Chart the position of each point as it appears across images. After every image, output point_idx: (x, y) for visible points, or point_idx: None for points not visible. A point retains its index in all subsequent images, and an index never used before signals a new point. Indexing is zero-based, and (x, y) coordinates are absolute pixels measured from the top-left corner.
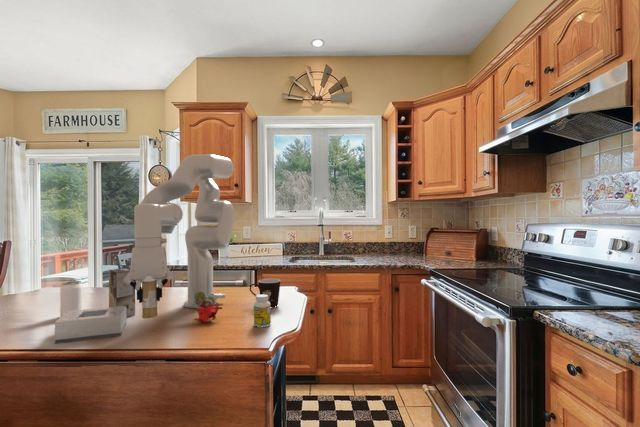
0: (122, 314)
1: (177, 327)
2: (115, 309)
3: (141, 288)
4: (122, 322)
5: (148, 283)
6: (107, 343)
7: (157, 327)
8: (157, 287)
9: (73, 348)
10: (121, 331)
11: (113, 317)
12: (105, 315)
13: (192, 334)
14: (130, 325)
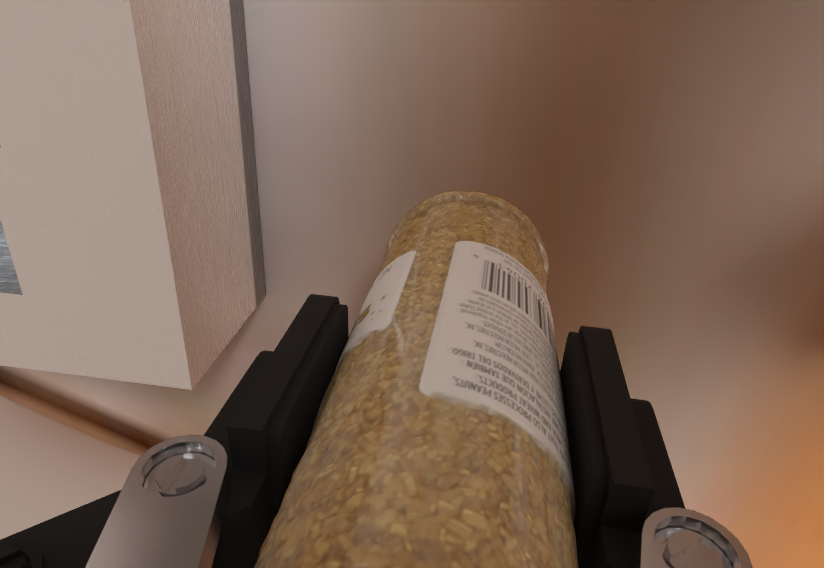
0: (185, 273)
1: (700, 287)
2: (38, 83)
3: (265, 475)
4: (223, 235)
5: None
6: (219, 395)
7: (536, 203)
8: (590, 519)
9: (56, 386)
10: (254, 266)
11: (138, 377)
12: (41, 314)
13: (747, 488)
14: (288, 3)
